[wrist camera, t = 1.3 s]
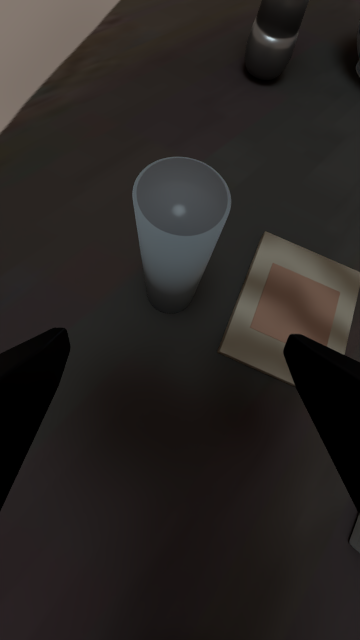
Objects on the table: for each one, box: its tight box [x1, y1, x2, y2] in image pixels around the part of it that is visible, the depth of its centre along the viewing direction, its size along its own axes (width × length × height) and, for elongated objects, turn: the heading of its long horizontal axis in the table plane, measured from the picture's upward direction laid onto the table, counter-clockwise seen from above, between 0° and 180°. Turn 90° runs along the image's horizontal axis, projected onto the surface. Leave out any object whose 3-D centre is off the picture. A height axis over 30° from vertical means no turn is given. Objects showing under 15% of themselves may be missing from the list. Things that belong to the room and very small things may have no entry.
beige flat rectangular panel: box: [217, 231, 360, 387], centre depth 24 cm, size 15×12×1 cm
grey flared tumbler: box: [133, 157, 231, 313], centre depth 18 cm, size 5×5×13 cm
